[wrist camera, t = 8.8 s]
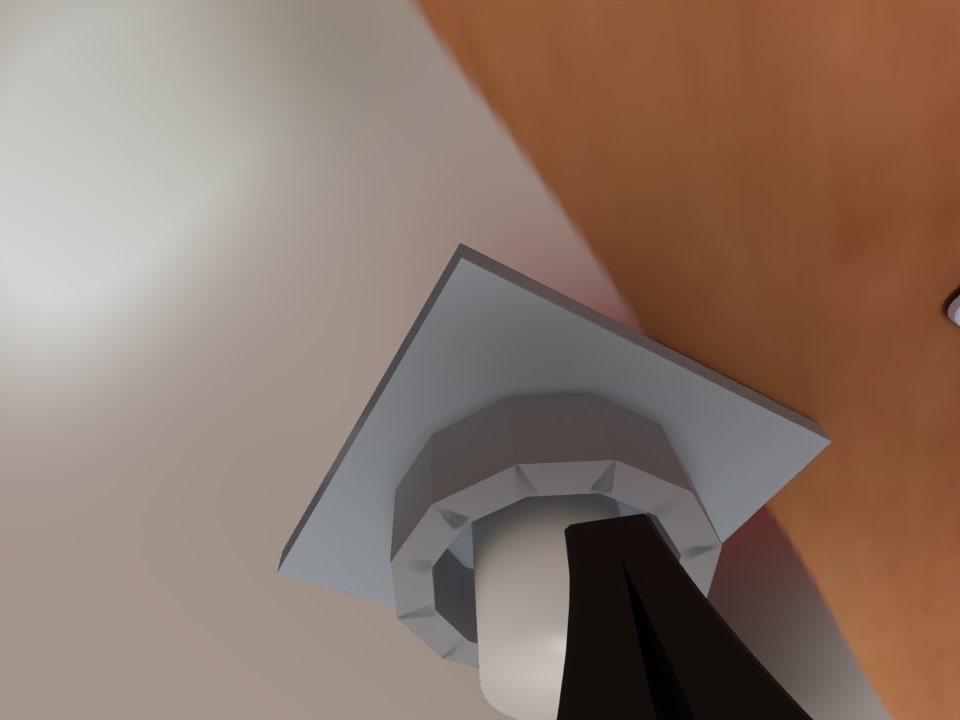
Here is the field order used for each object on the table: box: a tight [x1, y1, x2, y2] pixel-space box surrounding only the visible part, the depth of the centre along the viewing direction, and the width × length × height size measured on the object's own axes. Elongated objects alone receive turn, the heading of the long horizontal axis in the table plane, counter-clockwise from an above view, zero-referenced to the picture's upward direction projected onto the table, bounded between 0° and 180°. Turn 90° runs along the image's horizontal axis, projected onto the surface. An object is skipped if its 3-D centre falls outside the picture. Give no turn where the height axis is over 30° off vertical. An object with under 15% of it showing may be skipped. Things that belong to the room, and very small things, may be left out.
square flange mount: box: [277, 243, 832, 668], centre depth 21 cm, size 14×14×4 cm
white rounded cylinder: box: [471, 493, 621, 720], centre depth 19 cm, size 5×5×6 cm
